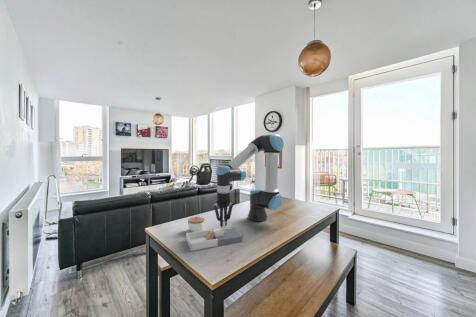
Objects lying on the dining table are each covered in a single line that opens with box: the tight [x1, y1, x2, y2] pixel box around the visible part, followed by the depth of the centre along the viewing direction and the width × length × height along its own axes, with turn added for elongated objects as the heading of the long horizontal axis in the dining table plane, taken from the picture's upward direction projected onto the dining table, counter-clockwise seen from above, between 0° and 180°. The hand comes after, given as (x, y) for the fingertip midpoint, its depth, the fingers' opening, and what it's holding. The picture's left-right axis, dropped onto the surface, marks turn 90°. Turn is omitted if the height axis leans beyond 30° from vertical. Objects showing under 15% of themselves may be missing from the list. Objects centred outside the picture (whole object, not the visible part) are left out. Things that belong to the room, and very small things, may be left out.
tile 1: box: [205, 229, 215, 240], centre depth 116 cm, size 5×5×2 cm
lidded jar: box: [187, 216, 205, 232], centre depth 132 cm, size 11×11×9 cm
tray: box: [185, 229, 219, 252], centre depth 114 cm, size 15×15×4 cm
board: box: [214, 227, 244, 247], centre depth 120 cm, size 15×14×3 cm
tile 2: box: [212, 228, 224, 237], centre depth 118 cm, size 5×5×2 cm
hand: (223, 231), depth 119 cm, fingers closed
